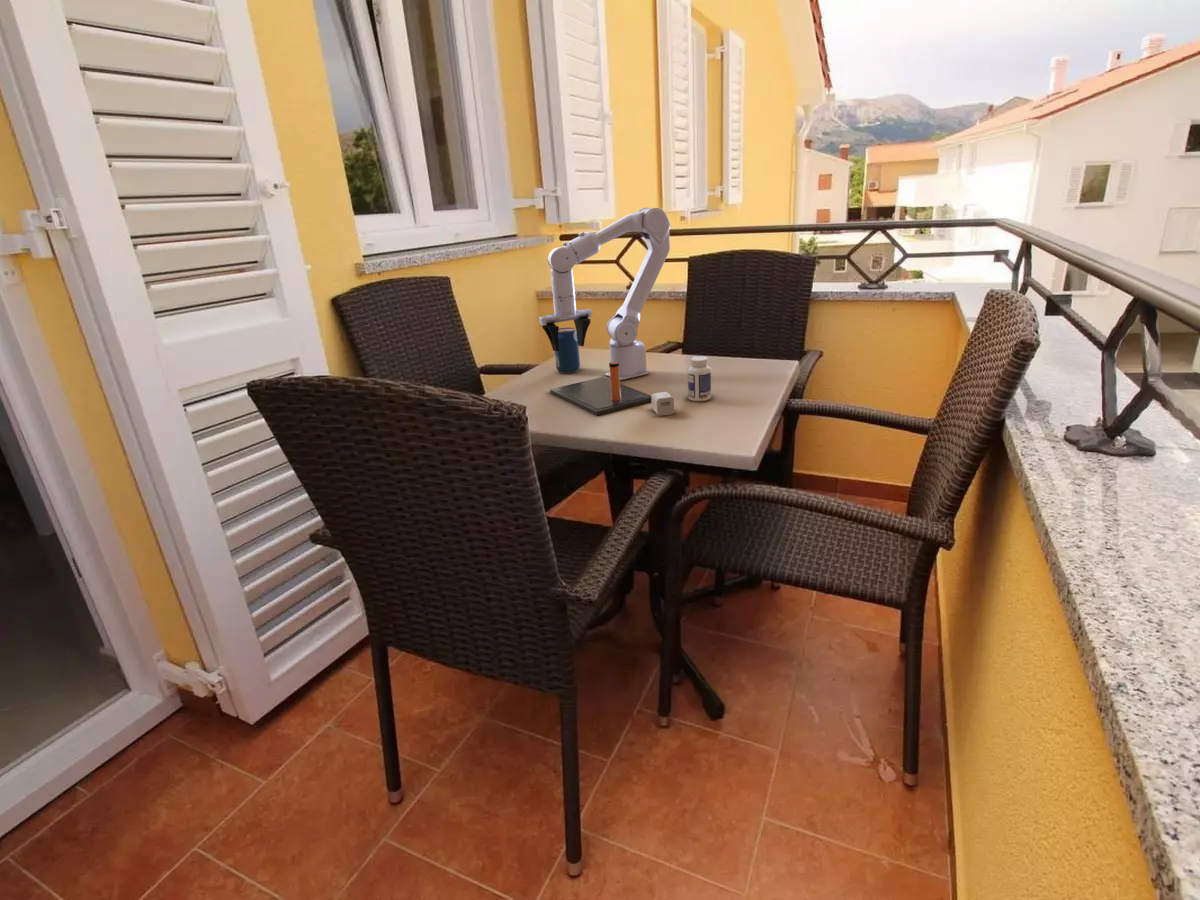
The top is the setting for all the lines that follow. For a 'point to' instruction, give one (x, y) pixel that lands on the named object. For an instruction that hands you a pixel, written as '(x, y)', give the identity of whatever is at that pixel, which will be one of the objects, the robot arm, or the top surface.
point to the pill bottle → (699, 379)
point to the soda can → (567, 351)
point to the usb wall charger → (662, 403)
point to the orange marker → (615, 381)
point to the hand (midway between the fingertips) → (568, 348)
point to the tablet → (599, 396)
